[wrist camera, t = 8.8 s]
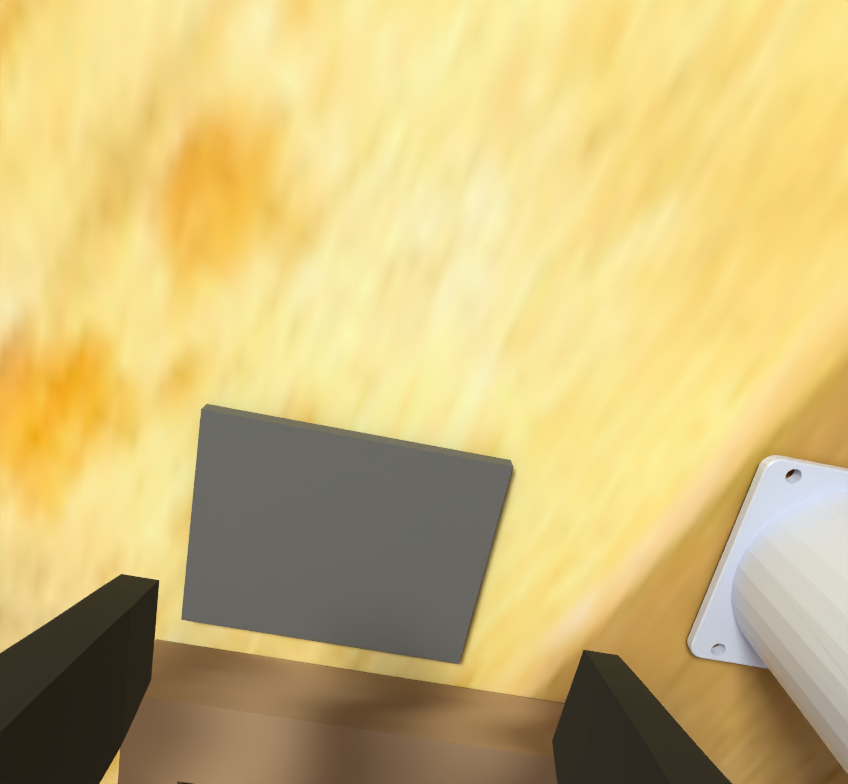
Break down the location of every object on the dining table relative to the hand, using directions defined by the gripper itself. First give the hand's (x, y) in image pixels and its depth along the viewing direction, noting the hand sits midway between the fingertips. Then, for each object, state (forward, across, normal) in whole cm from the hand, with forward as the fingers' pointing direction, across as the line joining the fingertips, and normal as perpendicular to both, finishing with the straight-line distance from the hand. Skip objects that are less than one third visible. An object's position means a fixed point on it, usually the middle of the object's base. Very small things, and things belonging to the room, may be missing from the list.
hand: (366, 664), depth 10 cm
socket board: (+10, -1, +15) cm, 18 cm away
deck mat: (+10, +1, +4) cm, 11 cm away
